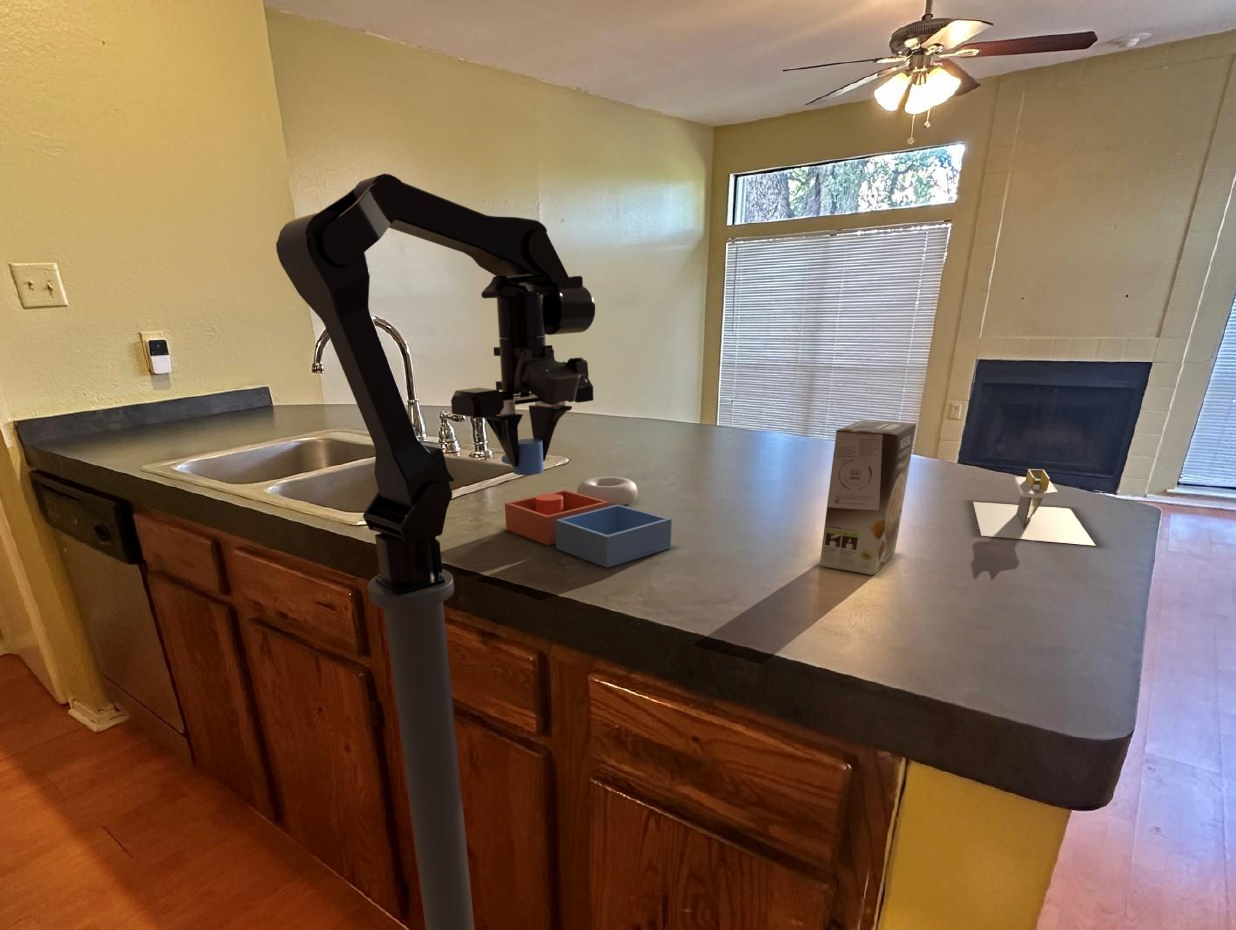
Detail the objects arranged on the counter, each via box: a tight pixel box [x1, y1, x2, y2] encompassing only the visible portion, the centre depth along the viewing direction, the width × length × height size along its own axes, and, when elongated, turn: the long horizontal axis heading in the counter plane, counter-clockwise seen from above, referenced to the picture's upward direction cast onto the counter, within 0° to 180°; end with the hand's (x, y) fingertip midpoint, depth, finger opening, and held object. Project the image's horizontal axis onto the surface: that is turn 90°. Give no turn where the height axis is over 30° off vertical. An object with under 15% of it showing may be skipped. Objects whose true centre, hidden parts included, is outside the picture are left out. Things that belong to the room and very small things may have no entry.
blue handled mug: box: [501, 438, 544, 476], centre depth 91 cm, size 8×4×4 cm, turn 37°
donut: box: [576, 476, 639, 507], centre depth 113 cm, size 10×4×10 cm
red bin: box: [504, 489, 609, 546], centre depth 100 cm, size 11×10×4 cm
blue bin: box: [555, 505, 673, 569], centre depth 91 cm, size 11×10×4 cm
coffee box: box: [819, 420, 917, 576], centre depth 81 cm, size 9×6×16 cm
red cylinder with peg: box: [535, 493, 563, 516], centre depth 100 cm, size 8×4×4 cm, turn 36°
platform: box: [972, 468, 1097, 546], centre depth 94 cm, size 12×18×7 cm, turn 152°
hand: (528, 463), depth 90 cm, fingers closed on blue handled mug, 4 cm apart
